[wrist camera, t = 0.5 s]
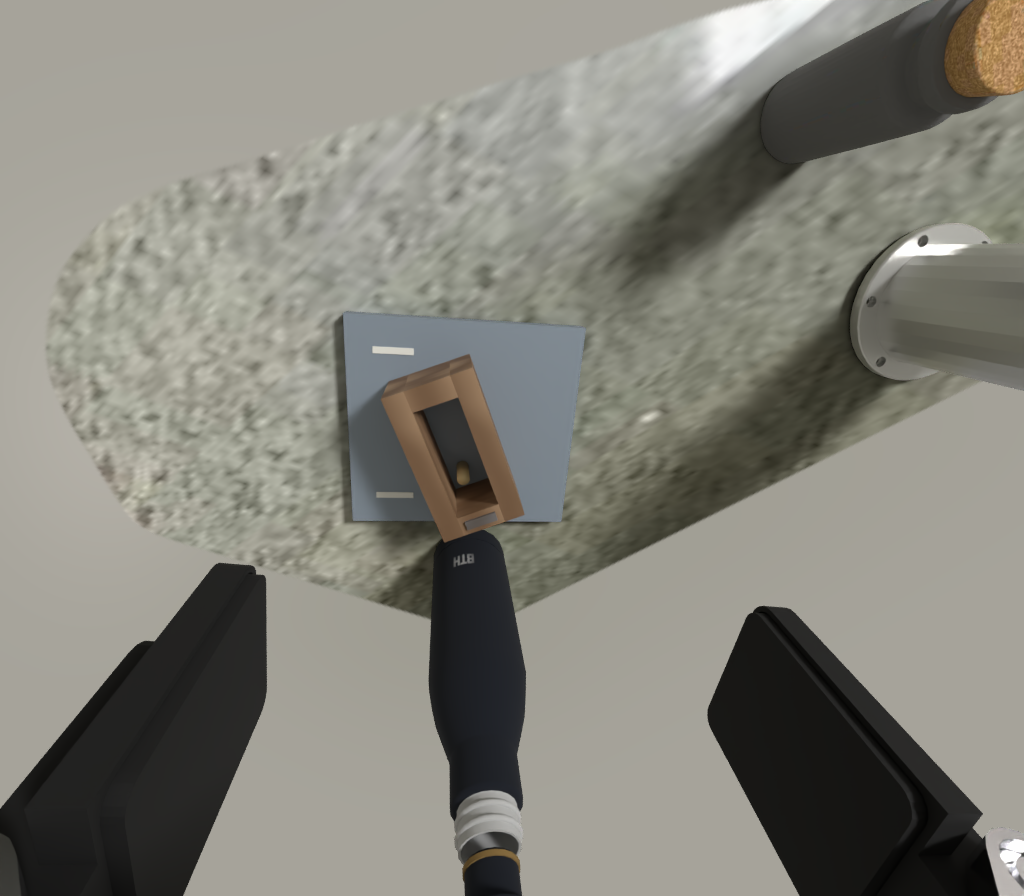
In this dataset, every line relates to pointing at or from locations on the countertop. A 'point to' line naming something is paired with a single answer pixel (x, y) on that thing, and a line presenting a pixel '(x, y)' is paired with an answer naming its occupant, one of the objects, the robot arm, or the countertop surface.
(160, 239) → the countertop surface
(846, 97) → the bottle
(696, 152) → the countertop surface
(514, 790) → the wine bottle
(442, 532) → the frame
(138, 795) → the robot arm
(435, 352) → the board
